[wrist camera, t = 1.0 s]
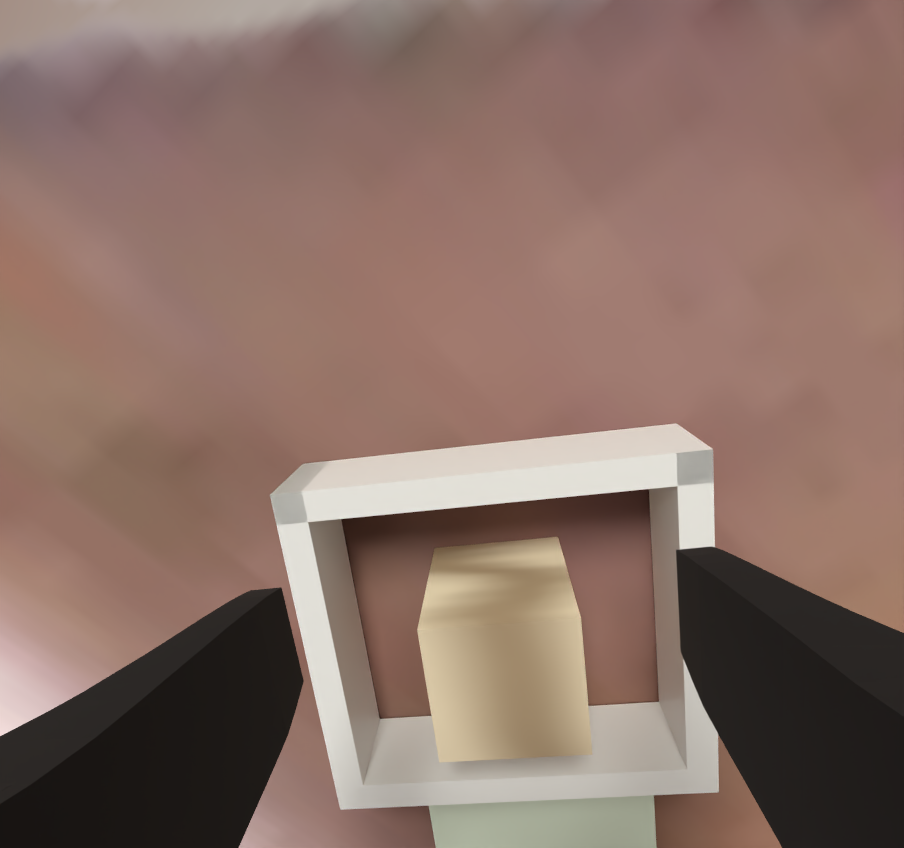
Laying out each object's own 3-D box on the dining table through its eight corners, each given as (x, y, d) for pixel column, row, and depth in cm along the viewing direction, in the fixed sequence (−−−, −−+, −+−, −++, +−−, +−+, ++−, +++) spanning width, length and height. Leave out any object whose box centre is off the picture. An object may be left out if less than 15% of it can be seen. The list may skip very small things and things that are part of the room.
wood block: (450, 652, 21) (439, 762, 16) (434, 547, 20) (417, 630, 15) (567, 644, 20) (592, 754, 16) (557, 535, 19) (581, 618, 14)
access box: (359, 740, 22) (340, 809, 19) (302, 463, 19) (269, 494, 16) (686, 722, 21) (718, 792, 18) (676, 423, 18) (713, 449, 15)
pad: (450, 913, 24) (449, 925, 23) (421, 747, 22) (420, 757, 21) (656, 907, 23) (660, 921, 23) (647, 734, 21) (651, 745, 20)
